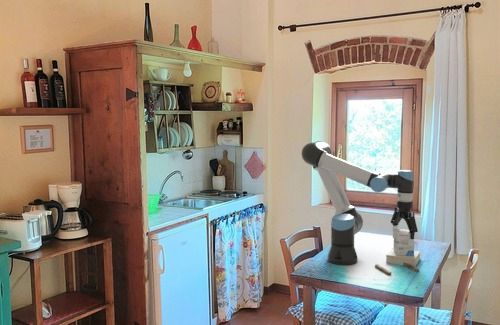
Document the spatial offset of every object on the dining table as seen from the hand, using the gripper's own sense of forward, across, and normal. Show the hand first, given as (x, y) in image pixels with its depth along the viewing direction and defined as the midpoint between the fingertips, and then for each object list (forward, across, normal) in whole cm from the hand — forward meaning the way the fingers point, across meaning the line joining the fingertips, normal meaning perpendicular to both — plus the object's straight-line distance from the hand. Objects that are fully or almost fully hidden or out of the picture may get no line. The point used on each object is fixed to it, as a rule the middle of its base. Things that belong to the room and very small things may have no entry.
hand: (402, 241), depth 236 cm
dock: (+10, 0, 0) cm, 10 cm away
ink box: (+6, 0, 0) cm, 6 cm away
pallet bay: (+10, +11, -10) cm, 18 cm away
